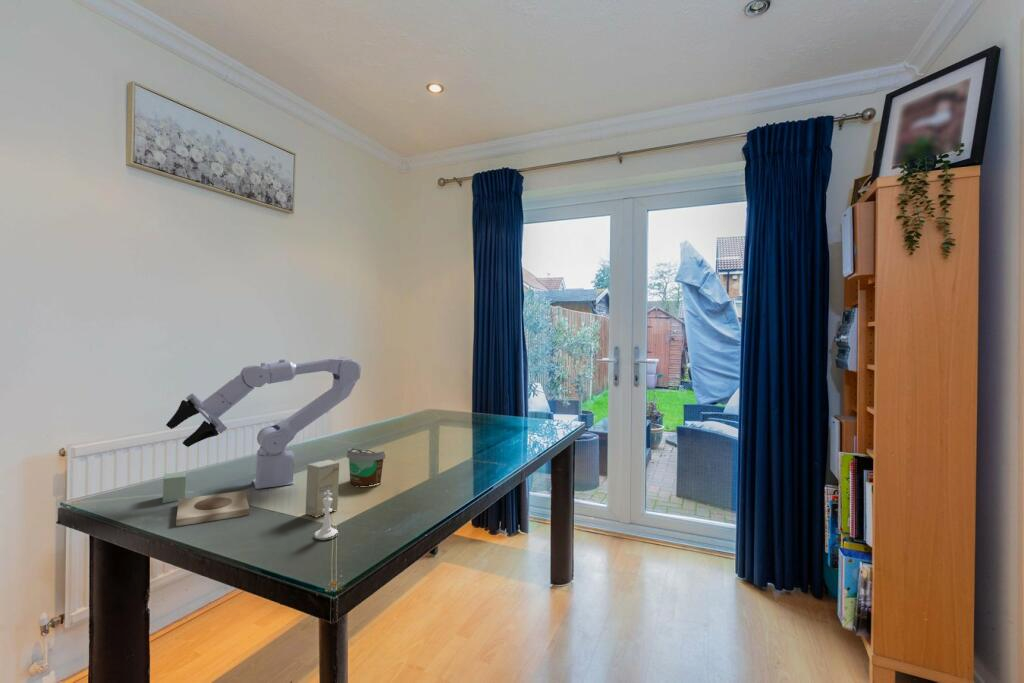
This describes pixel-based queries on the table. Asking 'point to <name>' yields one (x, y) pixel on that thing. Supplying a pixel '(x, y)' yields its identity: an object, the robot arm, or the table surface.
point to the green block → (174, 486)
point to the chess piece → (326, 519)
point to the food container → (365, 466)
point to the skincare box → (321, 486)
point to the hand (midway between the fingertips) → (176, 435)
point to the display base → (211, 508)
